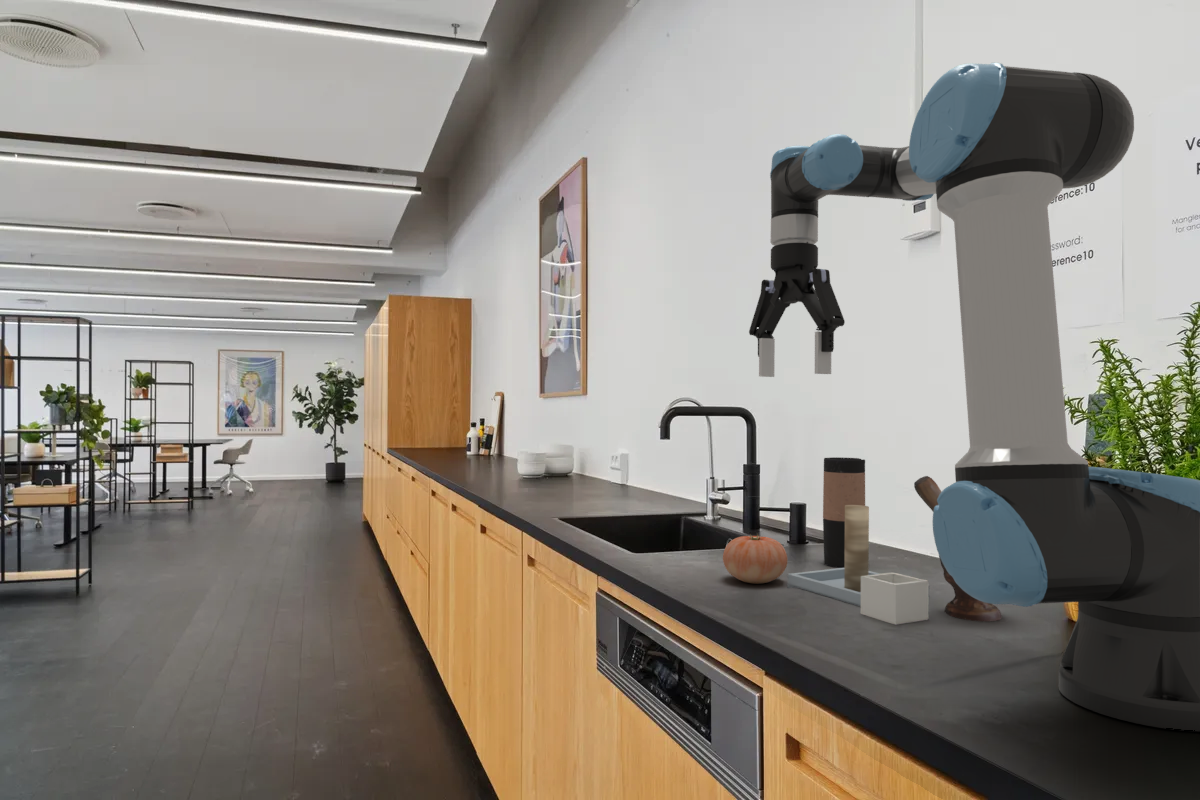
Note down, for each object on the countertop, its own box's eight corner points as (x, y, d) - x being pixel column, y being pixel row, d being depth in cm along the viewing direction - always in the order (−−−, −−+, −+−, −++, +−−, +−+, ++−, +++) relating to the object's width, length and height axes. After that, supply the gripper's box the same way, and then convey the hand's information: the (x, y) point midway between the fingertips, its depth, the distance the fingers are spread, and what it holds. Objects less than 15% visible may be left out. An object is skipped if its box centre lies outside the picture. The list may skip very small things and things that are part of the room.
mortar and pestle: (945, 631, 106) (945, 480, 106) (905, 614, 114) (906, 474, 114) (1019, 626, 108) (1019, 478, 109) (975, 610, 117) (976, 473, 117)
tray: (929, 602, 121) (929, 585, 122) (861, 612, 115) (861, 594, 115) (851, 581, 136) (851, 566, 136) (787, 589, 129) (787, 573, 129)
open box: (928, 625, 108) (928, 580, 108) (895, 630, 106) (895, 585, 106) (892, 614, 114) (892, 572, 114) (860, 619, 111) (860, 576, 111)
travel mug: (814, 564, 151) (815, 458, 151) (836, 559, 156) (836, 456, 156) (851, 570, 145) (852, 460, 145) (872, 565, 150) (873, 458, 151)
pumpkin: (711, 583, 134) (712, 535, 134) (738, 572, 143) (738, 527, 143) (773, 591, 128) (773, 541, 128) (796, 580, 137) (797, 533, 137)
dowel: (873, 590, 125) (873, 507, 125) (856, 592, 123) (856, 508, 123) (856, 585, 128) (856, 504, 128) (839, 587, 126) (839, 505, 126)
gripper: (868, 233, 121) (868, 373, 121) (763, 260, 143) (762, 378, 143) (831, 227, 118) (830, 371, 117) (729, 256, 140) (728, 377, 140)
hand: (793, 375), depth 130 cm, fingers open, 13 cm apart
